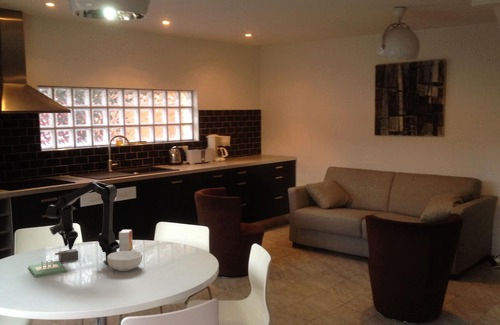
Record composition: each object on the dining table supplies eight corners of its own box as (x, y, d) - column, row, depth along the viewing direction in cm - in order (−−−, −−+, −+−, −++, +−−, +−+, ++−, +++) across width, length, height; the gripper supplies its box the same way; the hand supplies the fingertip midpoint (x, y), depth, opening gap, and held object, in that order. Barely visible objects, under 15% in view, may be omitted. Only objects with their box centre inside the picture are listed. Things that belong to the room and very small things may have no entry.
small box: (129, 251, 275) (128, 232, 274) (119, 251, 275) (118, 232, 274) (132, 247, 283) (132, 229, 282) (123, 247, 283) (122, 229, 282)
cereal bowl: (133, 275, 233) (133, 260, 232) (101, 273, 236) (100, 258, 236) (148, 264, 250) (147, 250, 249) (117, 263, 253) (117, 249, 252)
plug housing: (78, 259, 260) (78, 250, 260) (56, 262, 254) (56, 254, 254) (76, 257, 264) (75, 248, 264) (54, 260, 258) (54, 252, 258)
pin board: (66, 271, 239) (66, 263, 239) (35, 277, 231) (35, 268, 231) (57, 262, 254) (57, 254, 254) (28, 267, 246) (28, 259, 246)
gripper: (46, 217, 261) (48, 246, 263) (54, 223, 246) (56, 254, 247) (68, 214, 267) (69, 243, 269) (77, 220, 252) (78, 250, 253)
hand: (68, 247), depth 259 cm, fingers open, 9 cm apart
